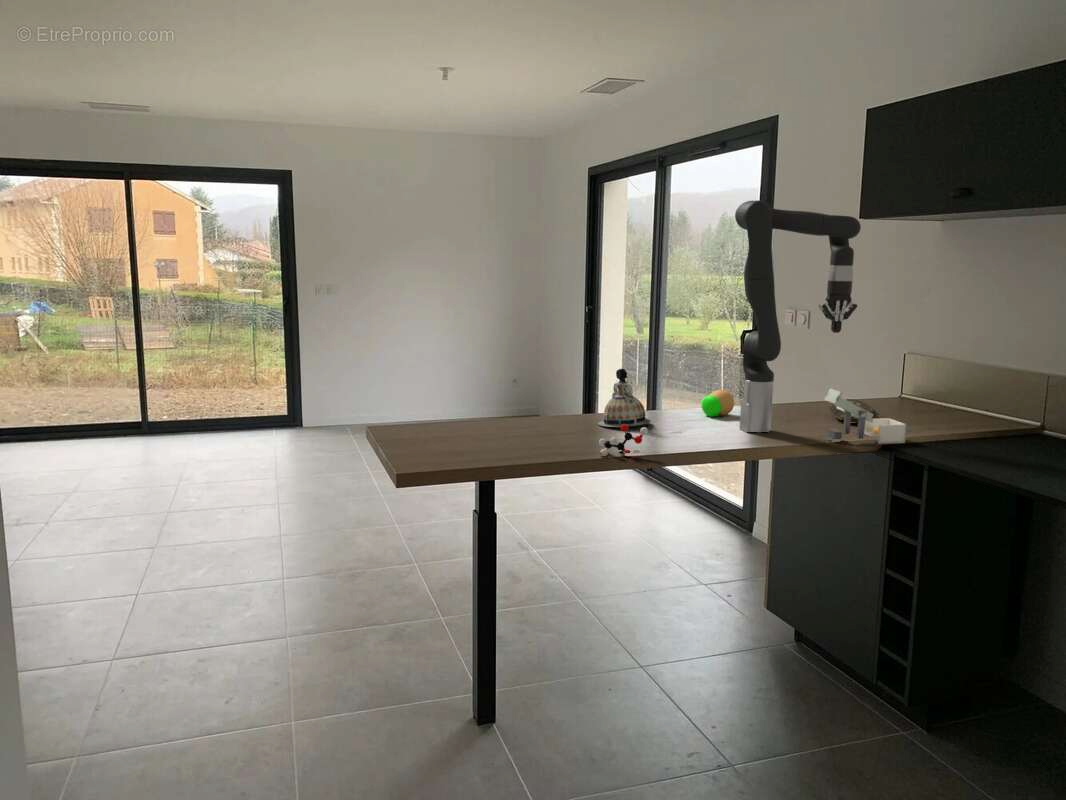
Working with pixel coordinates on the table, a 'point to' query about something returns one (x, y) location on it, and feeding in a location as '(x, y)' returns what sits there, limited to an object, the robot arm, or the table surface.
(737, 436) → the table surface
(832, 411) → the turtle shell
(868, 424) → the white open box
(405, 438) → the table surface
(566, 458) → the table surface
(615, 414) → the figurine
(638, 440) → the molecular model
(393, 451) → the table surface
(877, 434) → the ball
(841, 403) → the lever
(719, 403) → the green and tan spheres
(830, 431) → the fulcrum
